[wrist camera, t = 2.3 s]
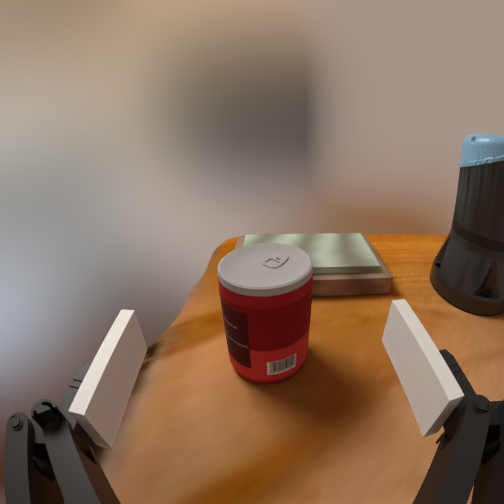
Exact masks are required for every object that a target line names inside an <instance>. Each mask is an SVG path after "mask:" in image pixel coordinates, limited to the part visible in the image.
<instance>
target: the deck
mask: <svg viewBox="0 0 504 504" xmlns="http://www.w3.org/2000/svg"><path fill="white" fill-rule="evenodd" d="M260 243H281V244H287V245H291V246H295V247H297V248H300V249H302V250H304V251H305V252H307V253H308V254H309V255H310V257H311V259H312V262H313V289H312V296H338V295H363V294H382V293H389V292H390V288H391V283H392V278H393V277H392V275H391V274H390V272H389V271H388V269H387V267H386V266H385V264H384V263H383V261H382V259H381V258H380V256H379V255H378V253H377V252H376V250H375V248H374V247H373V245H372V244H371V242H370V241H369V239H368V238H367V236H366V235H361V234H360V233H340V234H339V233H337V234H336V233H335V234H266V235H246V236H245V237H238V239H237V243H236V246H235V250H236V249H239V248H241V247H245V246H248V245H253V244H260Z"/></svg>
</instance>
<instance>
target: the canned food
mask: <svg viewBox="0 0 504 504" xmlns="http://www.w3.org/2000/svg"><path fill="white" fill-rule="evenodd" d="M218 282H219V291H220V298H221V305H222V312H223V319H224V325H225V332H226V338H227V345H228V351H229V357H230V361H231V363H232V365H233V367H234V368H235V370H236V371H237V372H238V373H239V374H240V375H241V376H242V377H244V378H245V379H247V380H250V381H252V382H256V383H267V384H269V383H276V382H280V381H283V380H285V379H287V378H289V377H291V376H292V375H294V374H295V373H296V372H297V371H298V370H299V369H300V367H301V366H302V364H303V362H304V360H305V359H306V355H307V348H308V338H309V327H310V316H311V303H312V289H313V262H312V259H311V257H310V255H309V254H308V253H307V252H305V251H304V250H302V249H300V248H297V247H295V246H291V245H287V244H281V243H260V244H253V245H248V246H245V247H241V248H239V249H236V250H234V251H232V252H230V253H228V254H227V255H226V256H224V257H223V258H222V260H221V261H220V263H219V265H218Z"/></svg>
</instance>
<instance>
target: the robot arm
mask: <svg viewBox="0 0 504 504" xmlns="http://www.w3.org/2000/svg"><path fill="white" fill-rule="evenodd" d="M459 167H460V173H459V183H458V192H457V198H456V204H455V211H454V216H453V222H452V227H451V231H450V233H449V235H448V237H447V238H446V240H445V242H444V244H443V246H442V247H441V249H440V251H439V252H438V254H437V256H436V258H435V259H434V262H433V265H432V269H431V273H430V280H431V283H432V285H433V287H434V289H435V290H436V291H437V292H438V293H439V294H440V295H441V296H442V297H443V298H444V299H445V300H447V301H448V302H450V303H451V304H453V305H455V306H457V307H459V308H461V309H463V310H465V311H468V312H471V313H475V314H480V315H496V314H500V313H502V312H504V136H496V135H487V134H470V135H467V136H466V137H465V139H464V140H463V144H462V152H461V160H460V163H459ZM382 342H383V344H384V347H385V349H386V351H387V353H388V355H389V357H390V359H391V362H392V364H393V366H394V368H395V371H396V373H397V375H398V377H399V380H400V382H401V384H402V386H403V389H404V391H405V394H406V396H407V398H408V401H409V403H410V405H411V408H412V410H413V413H414V415H415V418H416V420H417V423H418V425H419V428H420V431H421V433H422V436H423V437H425V436H428V435H431V434H434V433H437V432H438V431H439V429H440V428H441V427H442V426H443V427H444V429H445V431H444V433H443V434H442V435H441V436H440V437H439V439H438V440H437V441H436V444H438V442H439V441H440V443H439V446H438V448H437V451H436V453H435V456H434V458H433V461H432V463H431V466H430V468H429V470H428V473H427V475H426V477H425V479H424V481H423V483H422V486H421V488H420V490H419V492H418V494H417V496H416V498H415V500H414V502H413V503H412V504H466V503H467V501H468V498H469V495H470V493H471V490H472V487H473V484H474V488H473V496H472V502H471V504H504V400H503V401H492V402H490V401H489V400H488V399H487V398H486V397H484V396H482V395H476V393H475V392H474V390H473V388H472V386H471V385H470V383H469V381H468V379H467V378H466V376H465V374H464V373H463V371H462V369H461V368H460V366H459V365H458V363H457V361H456V360H455V358H454V356H453V355H452V354H450V353H449V352H448V351H447V350H446V349H444V350H440V351H438V349H437V347H436V346H435V344H434V342H433V341H432V339H431V338H430V336H429V335H428V333H427V331H426V330H425V328H424V327H423V325H422V324H421V322H420V321H419V319H418V318H417V316H416V315H415V313H414V312H413V310H412V309H411V307H410V306H409V304H408V303H407V302H406V300H405V299H401V300H392V304H391V308H390V312H389V315H388V319H387V323H386V326H385V330H384V333H383V337H382ZM146 352H147V347H146V344H145V341H144V338H143V335H142V333H141V329H140V326H139V324H138V320H137V317H136V314H135V311H134V310H121V312H120V313H119V315H118V317H117V318H116V320H115V322H114V324H113V325H112V327H111V329H110V331H109V333H108V334H107V336H106V338H105V340H104V342H103V343H102V345H101V347H100V349H99V351H98V353H97V354H96V357H95V358H94V360H93V362H92V364H84V365H82V366H81V367H80V368H79V369H78V370H77V372H76V373H75V375H74V377H73V381H71V383H70V385H69V387H68V389H67V391H66V393H65V395H64V397H63V399H62V401H61V403H60V405H59V407H57V406H56V405H55V403H54V402H53V401H51V400H48V399H44V400H40V401H39V402H37V403H36V404H35V405H34V406H33V408H32V411H31V417H32V418H33V419H34V420H29V419H28V418H27V416H26V415H25V414H23V413H15V414H13V415H12V416H10V418H9V420H8V422H7V427H6V440H5V496H6V504H64V502H63V497H64V500H65V502H66V504H120V502H119V500H118V498H117V497H116V495H115V493H114V491H113V489H112V488H111V486H110V484H109V482H108V480H107V478H106V476H105V474H104V472H103V470H102V468H101V466H100V464H99V462H98V460H97V457H96V455H95V453H94V451H93V449H92V447H91V446H90V444H91V441H92V440H93V441H94V442H95V443H96V444H97V445H98V446H101V447H105V448H109V449H113V446H114V442H115V439H116V436H117V433H118V430H119V427H120V424H121V421H122V418H123V415H124V412H125V409H126V406H127V403H128V400H129V398H130V395H131V392H132V389H133V386H134V384H135V381H136V378H137V375H138V373H139V370H140V367H141V365H142V362H143V359H144V357H145V354H146ZM62 495H63V496H62Z"/></svg>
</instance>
